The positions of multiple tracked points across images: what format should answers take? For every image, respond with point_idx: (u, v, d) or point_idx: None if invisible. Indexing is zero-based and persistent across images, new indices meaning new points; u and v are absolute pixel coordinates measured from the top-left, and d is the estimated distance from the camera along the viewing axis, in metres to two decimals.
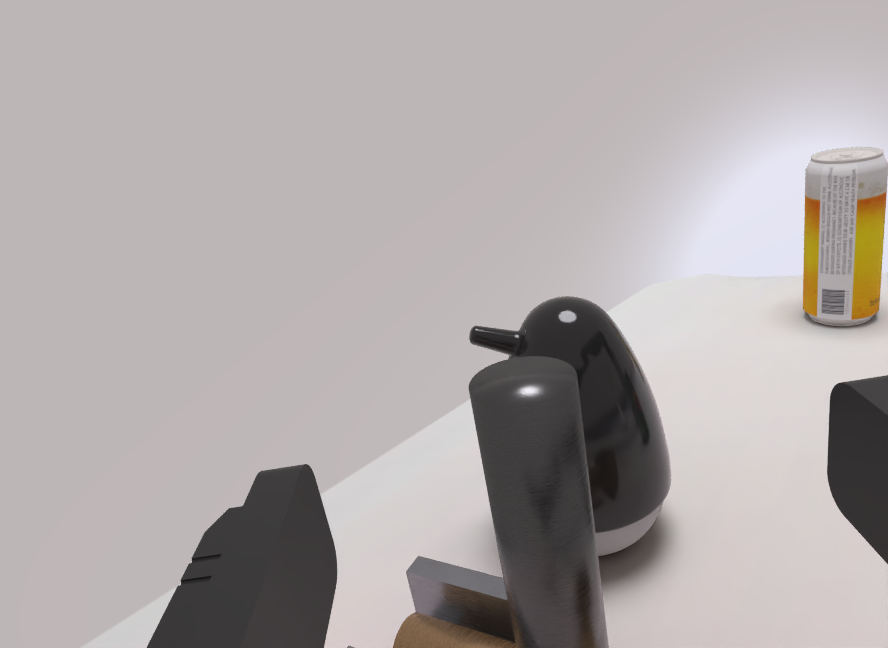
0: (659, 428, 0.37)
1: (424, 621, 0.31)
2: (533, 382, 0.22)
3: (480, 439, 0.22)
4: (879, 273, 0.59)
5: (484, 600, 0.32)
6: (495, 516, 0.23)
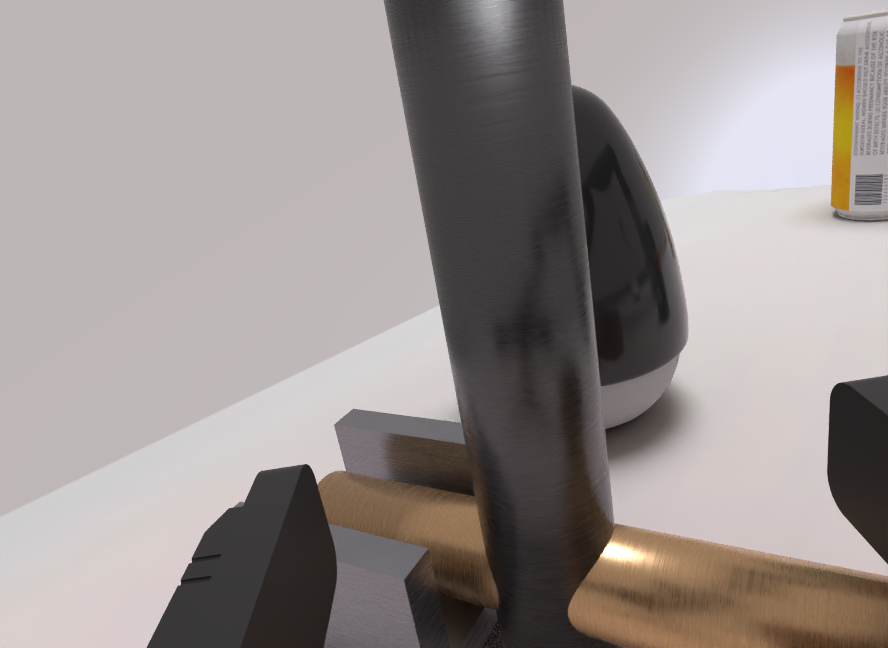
0: (674, 257, 0.28)
1: (352, 477, 0.22)
2: None
3: (402, 82, 0.14)
4: None
5: (436, 450, 0.23)
6: (430, 229, 0.15)
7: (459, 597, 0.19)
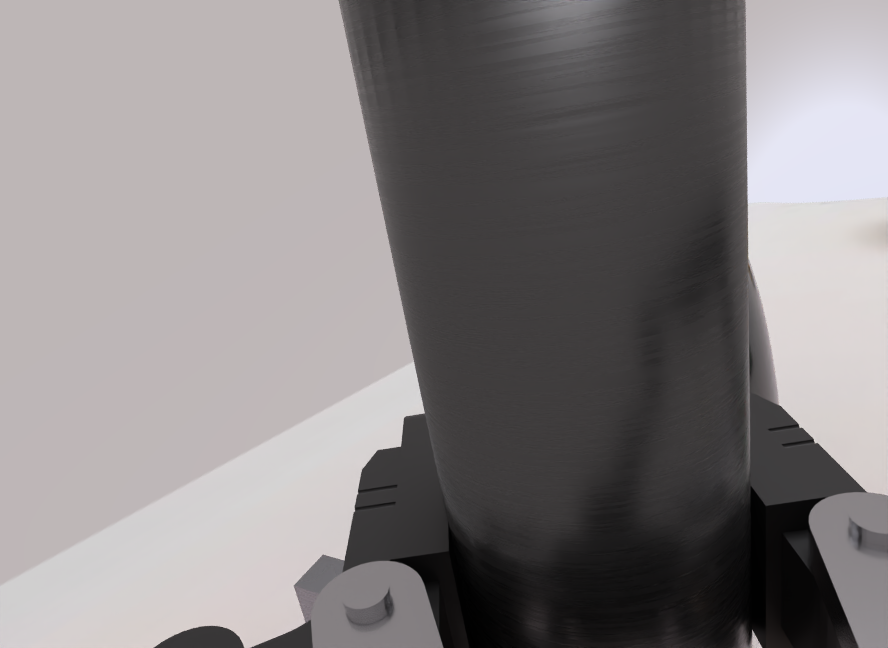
0: (766, 328, 0.21)
1: None
2: None
3: (368, 117, 0.06)
4: None
5: None
6: (432, 418, 0.07)
7: None
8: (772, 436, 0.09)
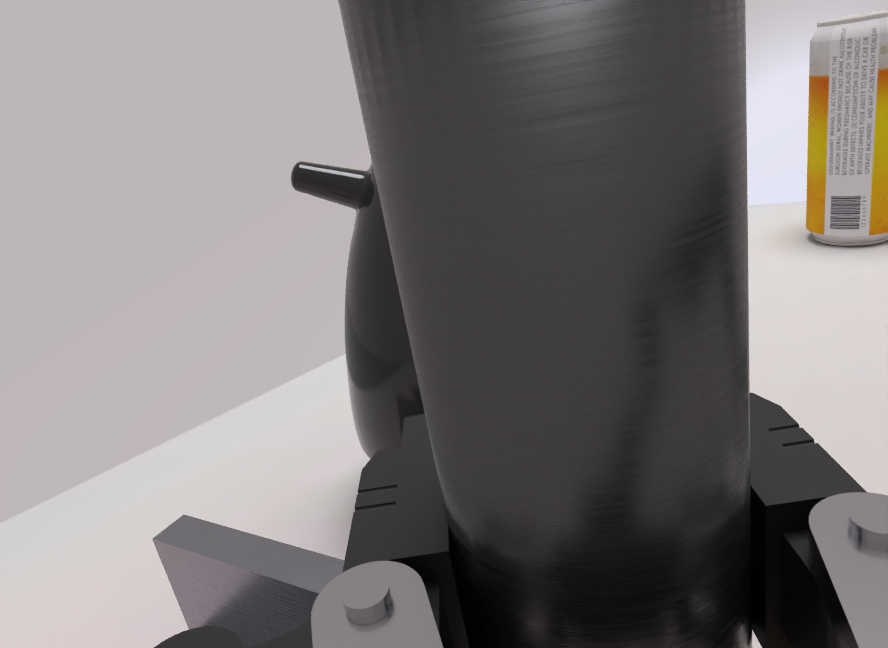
0: None
1: None
2: None
3: (367, 117, 0.06)
4: None
5: (259, 584, 0.18)
6: (432, 418, 0.07)
7: None
8: (772, 436, 0.09)
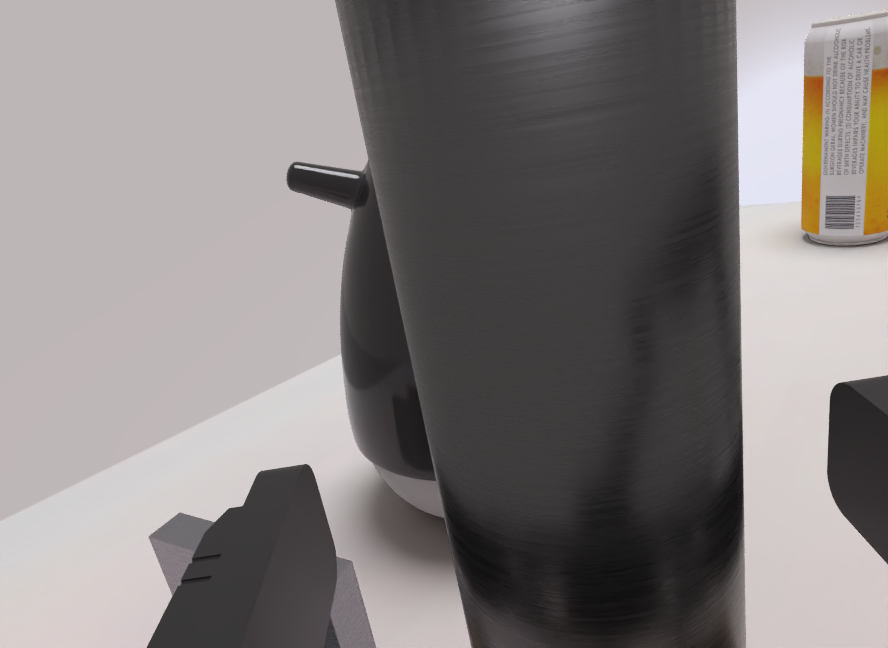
0: None
1: None
2: None
3: (364, 117, 0.06)
4: None
5: None
6: (428, 414, 0.07)
7: None
8: None
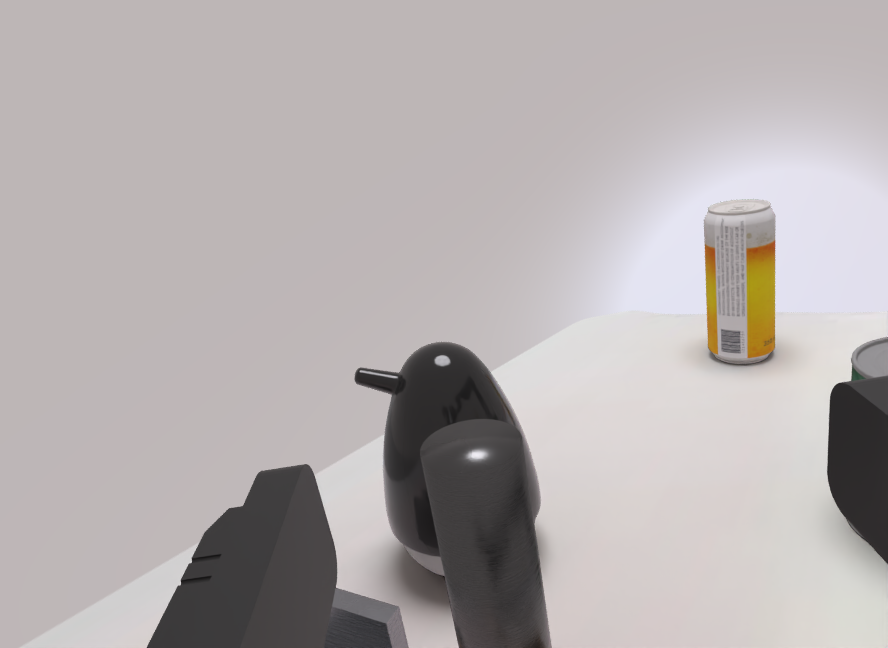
0: None
1: None
2: (480, 448, 0.23)
3: (430, 501, 0.23)
4: (772, 315, 0.63)
5: (347, 616, 0.35)
6: (446, 574, 0.24)
7: None
8: None
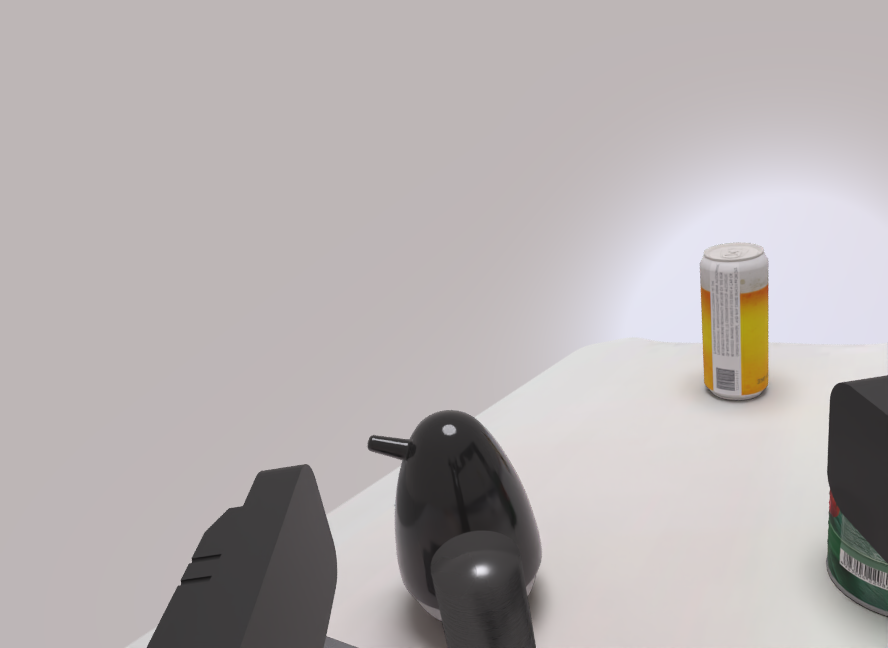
0: (525, 522, 0.44)
1: None
2: (484, 565, 0.26)
3: (440, 610, 0.27)
4: (765, 355, 0.66)
5: None
6: None
7: None
8: None
